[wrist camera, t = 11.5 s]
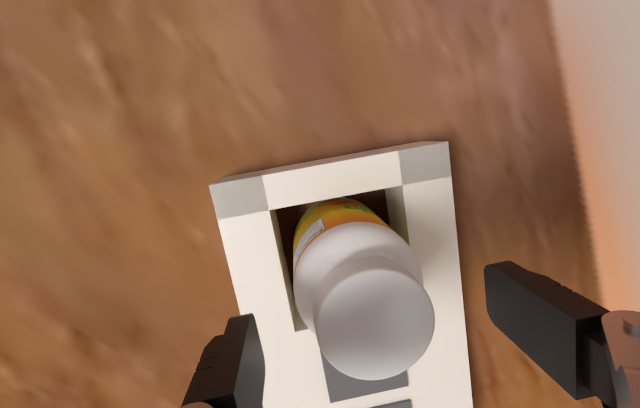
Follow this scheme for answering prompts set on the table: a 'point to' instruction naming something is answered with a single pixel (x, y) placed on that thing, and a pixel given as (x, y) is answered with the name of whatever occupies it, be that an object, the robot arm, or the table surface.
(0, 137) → the table surface
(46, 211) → the table surface
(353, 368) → the supplement bottle
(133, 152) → the table surface
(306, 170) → the white bottle holder
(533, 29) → the table surface
